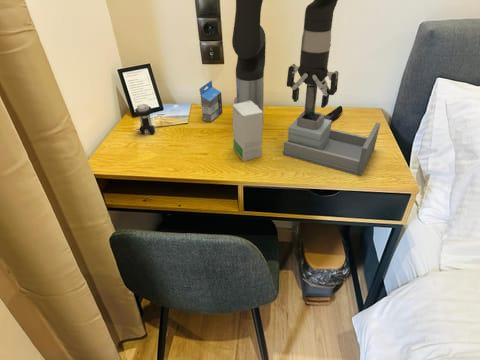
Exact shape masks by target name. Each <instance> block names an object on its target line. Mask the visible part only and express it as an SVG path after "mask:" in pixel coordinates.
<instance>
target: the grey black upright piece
mask: <svg viewBox="0 0 480 360" xmlns="http://www.w3.org/2000/svg"><path fill="white" fill-rule="evenodd" d="M134 112H135V114H136V115H137V116H138V118H139V121H140V127H139V128H136V129H135V130H136V133H140V134H141V135H145V136H146V135H147V136H148V135H151V136H153V135H155V133H156V128H155V125H154V124H153V123H152V118H151V114H152V107H151V106H149V105H148V104H139V105H137V107H136V108H135V109H134Z"/></svg>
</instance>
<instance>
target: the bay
mask: <svg viewBox="0 0 480 360" xmlns="http://www.w3.org/2000/svg"><path fill="white" fill-rule="evenodd" d="M380 126H381V123H380V122H375V124H374V126H373V127H372V129H371V131H370V133H369V135H368V136H365V135H360V134H356V133H352V132H347V131H346V132H345V131H343V130H337V129H333V128H331V129H330V136H329V141H328V142H327V143H326V145H325V146H324V148H323V149H322V150H318V149H315V148H311V147H307V146H303V145H299V144H295V143H291V142H288V140H287V141H286V140H285V141H284V142H283V151H282V154H281V155H282V156H285V157H286V156H287V157H290V158H293V159H297V160H301V161H304V162H307V163H311V164H314V165H318V166H322V167H326V168H330V169H334V170H336V171H341V172H343V173H344V172H345V173H348V174H352V175H354V176H359V177H361V176H362V174H363V172H364V170H365V168H366V167H367V164H368V163H369V161H370V159H371V156H372V154H373V152H374V150H375V147H376V143H377V139H378V134H379V130H380Z"/></svg>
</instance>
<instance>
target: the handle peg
mask: <svg viewBox="0 0 480 360" xmlns="http://www.w3.org/2000/svg"><path fill="white" fill-rule="evenodd" d="M305 92H306V93H305V100H304V101H305V102H304V110H305V112H304V119H309V120H313V121H314V114H315V112H316V106H317V104H316V103H317V94H318V86H317V85H316V86H313V85H311V84H306V91H305Z"/></svg>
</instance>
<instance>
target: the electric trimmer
mask: <svg viewBox="0 0 480 360" xmlns="http://www.w3.org/2000/svg"><path fill="white" fill-rule="evenodd" d="M342 113H343V106H342V105H339V106H337V107H336V108H335V109H333V110H332V111H331V112H329V113H326V114H325V119H328V120H332V121H335V120H338V118H339V117H340V115H342Z"/></svg>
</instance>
